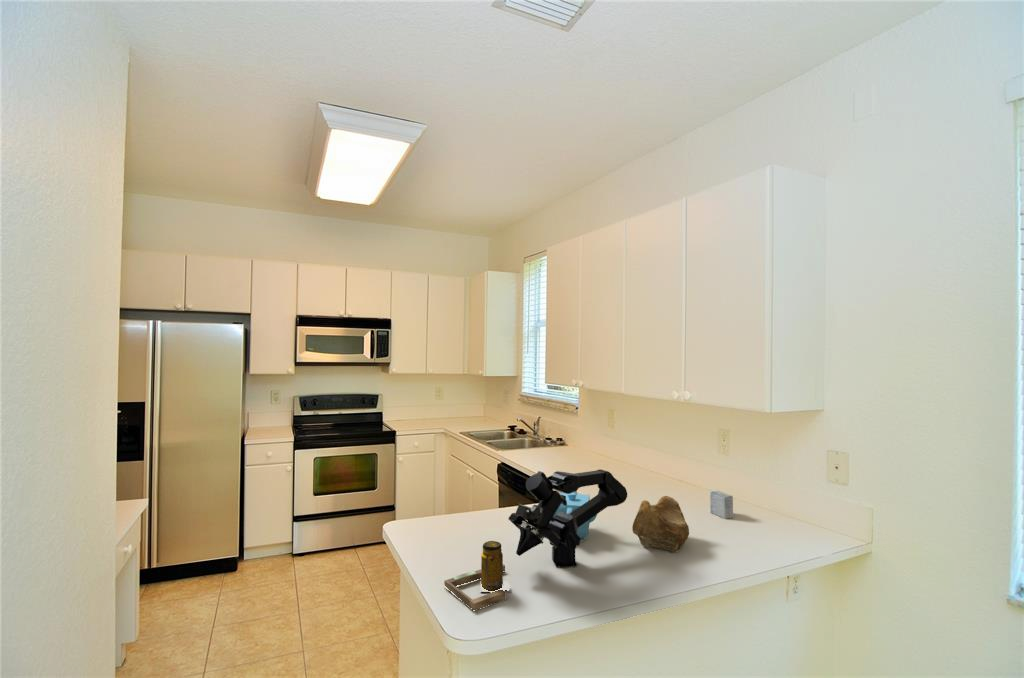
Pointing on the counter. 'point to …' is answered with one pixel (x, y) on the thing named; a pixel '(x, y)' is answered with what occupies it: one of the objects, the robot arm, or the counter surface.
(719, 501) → the medicine box
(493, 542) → the condiment
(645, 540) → the rough brown rock
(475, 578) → the rail bay
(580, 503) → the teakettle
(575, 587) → the counter surface
